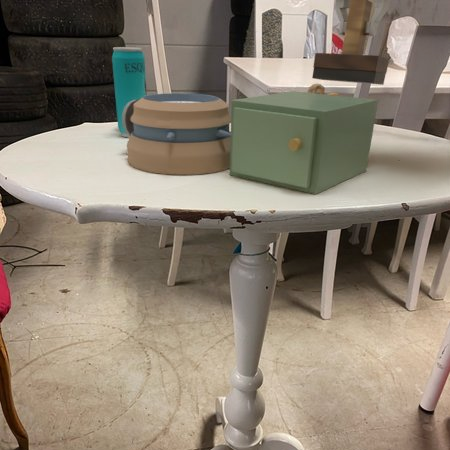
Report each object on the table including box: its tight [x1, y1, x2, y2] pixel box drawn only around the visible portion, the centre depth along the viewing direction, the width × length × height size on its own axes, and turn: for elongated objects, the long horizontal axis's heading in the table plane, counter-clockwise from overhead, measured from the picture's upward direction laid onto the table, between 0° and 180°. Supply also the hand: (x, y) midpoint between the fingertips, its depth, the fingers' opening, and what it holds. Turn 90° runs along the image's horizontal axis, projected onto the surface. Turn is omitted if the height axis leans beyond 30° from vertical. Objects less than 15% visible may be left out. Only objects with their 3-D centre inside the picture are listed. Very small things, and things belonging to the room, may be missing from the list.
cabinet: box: [229, 91, 379, 195], centre depth 66 cm, size 14×18×10 cm
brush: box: [312, 0, 390, 86], centre depth 69 cm, size 10×4×10 cm, turn 52°
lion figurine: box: [306, 83, 341, 96], centre depth 102 cm, size 15×5×9 cm, turn 144°
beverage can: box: [111, 46, 148, 139], centre depth 87 cm, size 6×6×15 cm
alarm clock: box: [122, 92, 231, 176], centre depth 74 cm, size 17×9×23 cm
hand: (357, 35), depth 69 cm, fingers closed on brush, 2 cm apart
